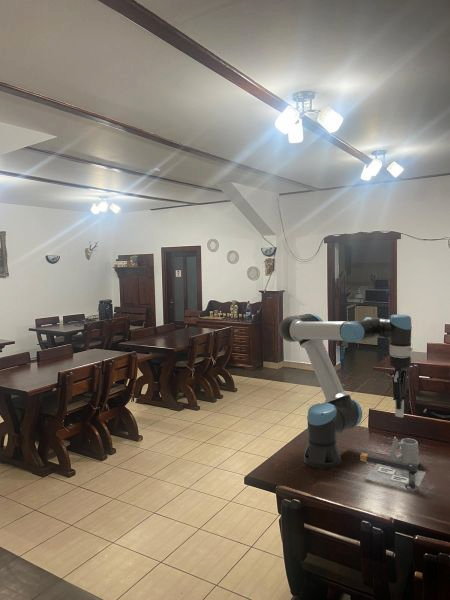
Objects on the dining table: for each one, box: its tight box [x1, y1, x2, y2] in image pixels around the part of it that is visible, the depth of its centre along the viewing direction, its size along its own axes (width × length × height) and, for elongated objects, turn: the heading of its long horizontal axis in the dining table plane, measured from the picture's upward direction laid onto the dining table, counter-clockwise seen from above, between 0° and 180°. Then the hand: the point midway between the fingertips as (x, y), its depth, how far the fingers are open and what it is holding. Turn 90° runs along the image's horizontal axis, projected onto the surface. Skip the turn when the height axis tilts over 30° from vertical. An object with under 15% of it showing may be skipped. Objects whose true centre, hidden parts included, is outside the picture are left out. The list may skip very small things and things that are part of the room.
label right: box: [390, 475, 409, 484], centre depth 170 cm, size 6×4×1 cm, turn 56°
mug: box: [389, 436, 421, 467], centre depth 183 cm, size 8×12×12 cm, turn 95°
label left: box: [377, 467, 396, 475], centre depth 177 cm, size 6×4×1 cm, turn 56°
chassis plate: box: [366, 464, 427, 492], centre depth 174 cm, size 18×17×1 cm
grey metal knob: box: [404, 473, 420, 492], centre depth 164 cm, size 5×5×7 cm
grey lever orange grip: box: [359, 452, 418, 473], centre depth 169 cm, size 20×4×2 cm, turn 54°
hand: (399, 416), depth 173 cm, fingers closed
